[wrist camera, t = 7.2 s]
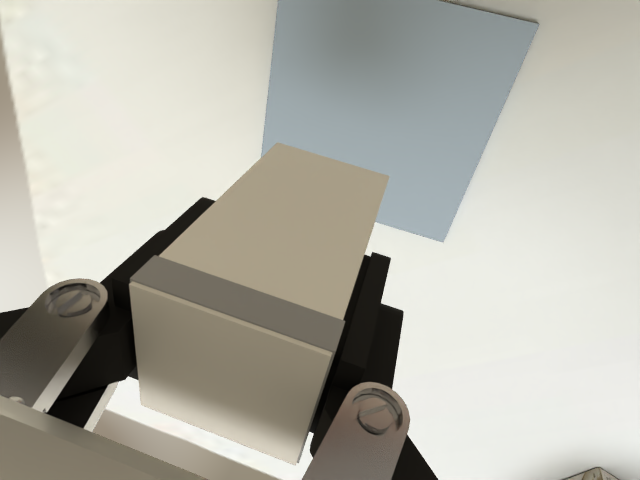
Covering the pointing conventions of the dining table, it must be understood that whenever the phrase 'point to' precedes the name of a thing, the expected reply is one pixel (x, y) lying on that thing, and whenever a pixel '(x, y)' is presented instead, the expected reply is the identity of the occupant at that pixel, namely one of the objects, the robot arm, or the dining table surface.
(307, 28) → the slate mat
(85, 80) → the dining table surface
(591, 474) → the coffee box
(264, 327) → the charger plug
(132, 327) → the robot arm
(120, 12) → the dining table surface
